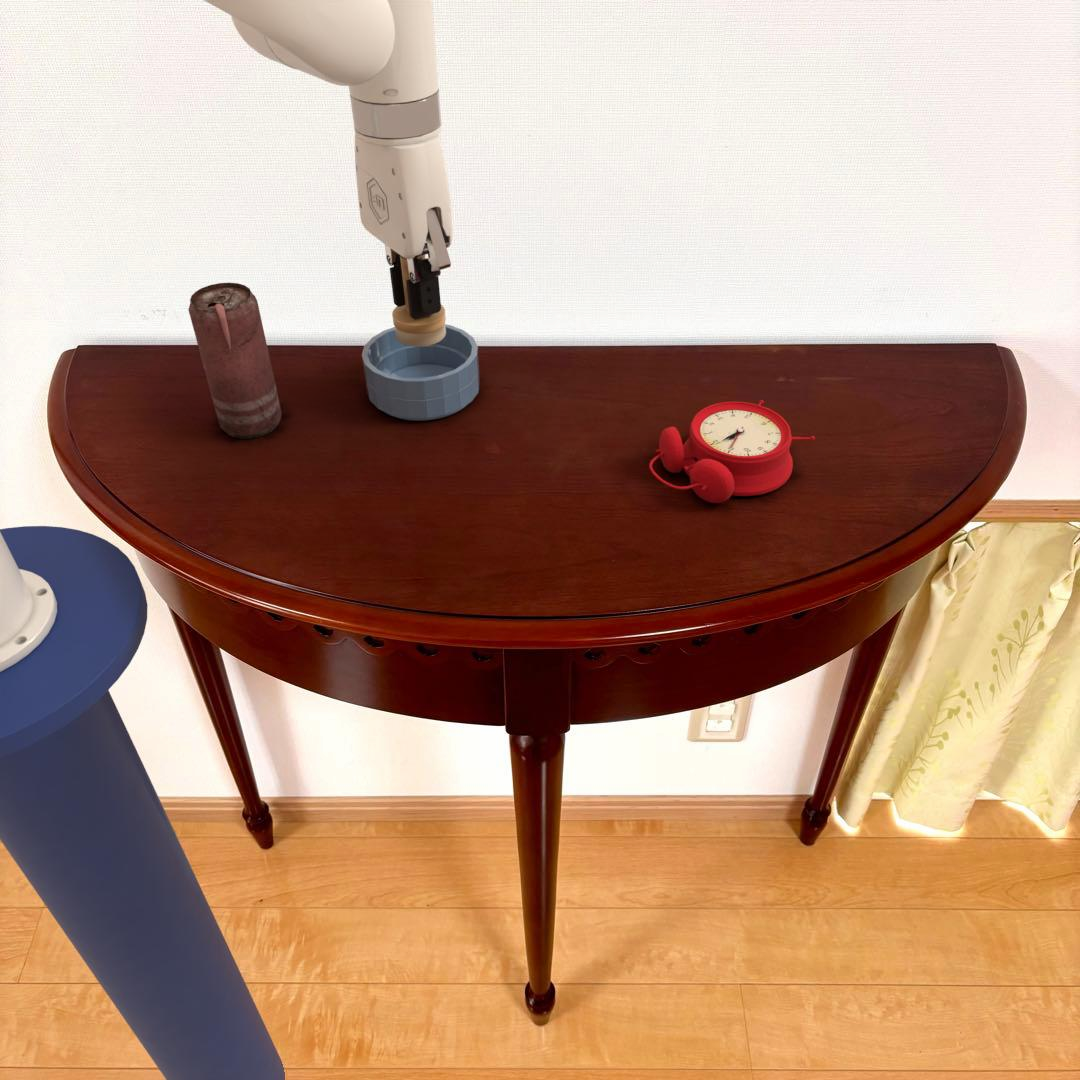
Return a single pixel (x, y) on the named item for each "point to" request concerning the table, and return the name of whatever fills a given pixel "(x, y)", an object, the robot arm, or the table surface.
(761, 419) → the alarm clock
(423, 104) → the robot arm
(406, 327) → the dish brush
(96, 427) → the table surface
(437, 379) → the bowl
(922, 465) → the table surface
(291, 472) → the table surface
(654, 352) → the table surface
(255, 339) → the can
